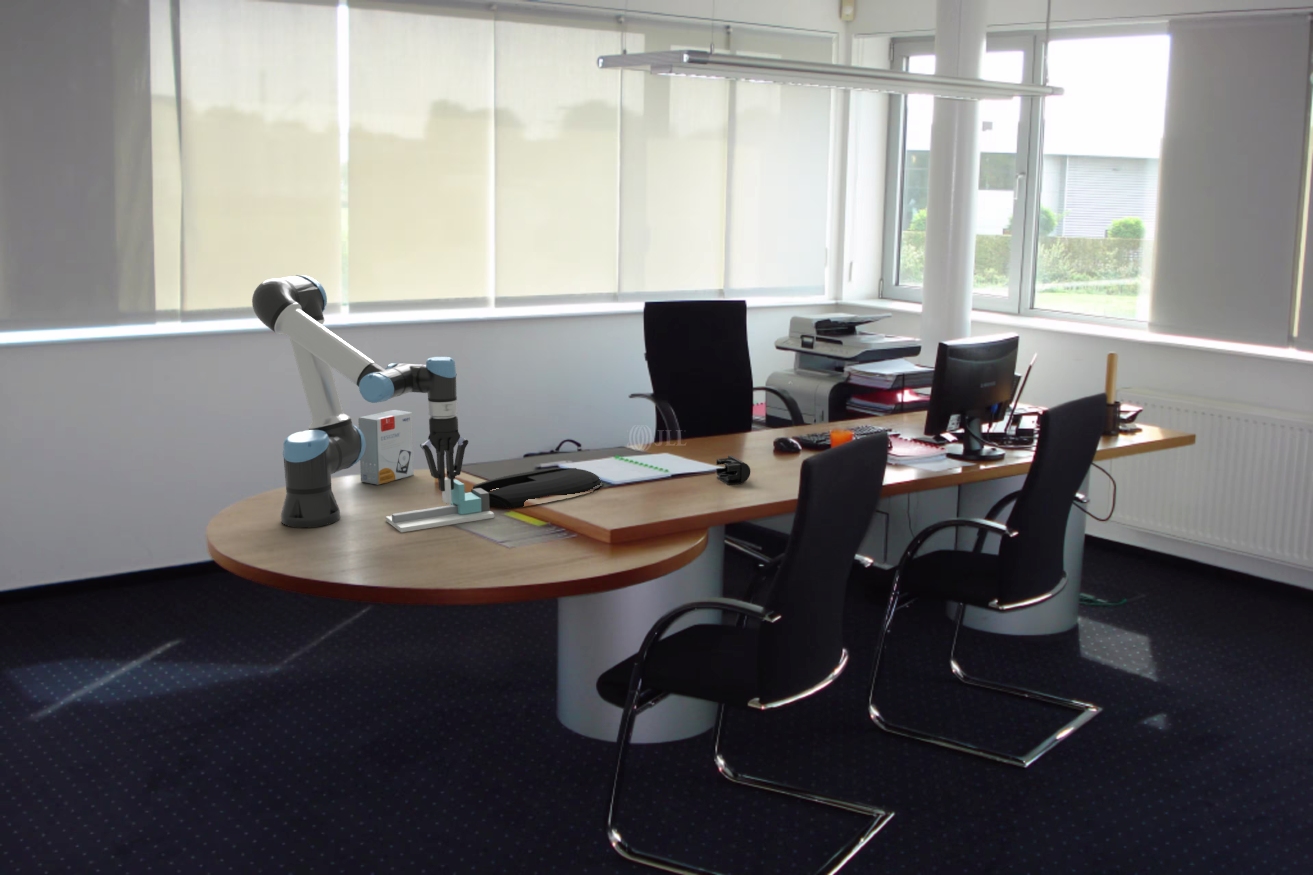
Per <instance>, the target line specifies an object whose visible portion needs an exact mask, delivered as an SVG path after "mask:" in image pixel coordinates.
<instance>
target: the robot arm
mask: <svg viewBox="0 0 1313 875" xmlns="http://www.w3.org/2000/svg"><path fill="white" fill-rule="evenodd" d="M327 296H328V295H327V293H326V290H325V288H324V287H323V285H322V284H321V283H320V282H319V281H318V280H317V279H315V278H314V277H312V276H309V275H305V274H303V275H298V274H296V275H291V276H284V277H283V276H282V277H277V278H269V279H265V280H264V281H262V282H261V283H260V284H258V285H257V287H256V288H255V290H254V291H253V295H252V299H251V305H252V308H253V312H254V313H255V315H256V317H257V318H258V320H259V321H261V323H263V325H265V327H267V328H268V329H269V330H271V331H272V332H274V333H275V334H276V335H278V336H279V335H286V337H287V338H289V340H290V345H291V347H292V352H293V355H294V360H295V362H296V365H297V370H298V373H299V377H300V380H301V385H302V388H303V391H304V395H305V399H306V403H307V406H308V410H309V414H310V417H311V423H310V424H309V426H308V427H307V428H308V430H307V429H306V430H303V431H297V432H293V433H292V434H290V435H288V436H287V437H286V438H285V439H284V440H283V449H282V457H283V466H284V467H283V468H284V478H285V492H286V494H285V498H284V501H283V505H282V510H281V512H280V520H281V524H282V523H283V524H282V525H284V524H285V525H284V526H286V525H289V526H288V527H290V526H294V527H293V528H298V527H308V528H317V527H322V526H328V525H331V524H334V523H336V522H338V521H339V520H340V519H341V512H340V507H339V504H338V502H337V500H336V497H335V495H334V493H333V489H332V477H331V476H332V475H333V474H336V473H338V472H340V471H342V470H347V469H349V468H352V467H353V466H354V465H357V463H359V462H360V459H361V458H362V456H363V455H364V452H365V446H366V444H365V438H364V435H363V433H362V432H361V430H360V429H359V427H357V426H356V425H355V424H353V421H352V417H351V416H350V415H348V414H346V413H345V412H344V408H343V406H342V403H341V399H340V395H339V391H338V388H337V383H336V380H335V376H334V373H333V370H334V371H335V372H338V373H339V374H340V375H342V376H343V377H345V378H346V379H347V380H349V381H351V383H353V384H355V385H356V386H357V387H358V390H359V393H360V395H361V396H362V398H363V399H364V400H365V401H366V402H369V403H370V404H371V403H372V404H375V403H376V404H377V403H382V402H386V401H389V400H391V399H393V398H396V397H399V396H403V395H406V394H409V393H419V394H420V393H421V394H427V402H428V403H427V404H428V415H429V416H430V417H428V426H429V434H428V437H427V440H426V441H425V442H421V443H420V444H419V447H420V448H421V449H422V451H423V452H424V455H425V459H426V462H427V465H428V470H429V473H430V476H431V477H433V478H435V479H437V480H438V490H439V491H440V492H441V494H442V495H441V496H442V502H443V503H444V504H445V505H446V504H451V490H453V489H454V480H455V479H456V477H457V476H460V475H461V474H462V473H461V472H462V467H463V462H464V456H465V452H466V448H467V446H468V444H469V440H468V439H466V438H464V437H462V436H461V434H460V432H459V418H458V396H457V371H456V370H457V368H456V362H455V359H454V358H453V357H449V356H432V357H428V358H427V359H426V360H425V361H426V363H425V364H420V363H419V364H417V363H405V362H395V363H394V362H393V363H389V364H388V365H387V366H386V367H385V368H384V367H383V366H381V365H379V364H378V363H376V362H375V361H373V360H372V358H369V357H368V356H366V354H364V353H362V351H360V350H358V349H356V348H355V347H354V346H352V345H351V344H350V343H348V342H346V341H345V340H343V338H341V337H339V336H338V335H337V334H335V332H332V331H331V330H330V329H328V328H327V327H326V326H324V322H325V317H324V313H323V312H325V310H326V306H327V304H328V298H327ZM457 444H458V445H457ZM431 445H432V446H433V448H434V449H435V453H436V461H435V459H434V456H433V452H432V450H431V449H432V446H431ZM456 445H457V449H456V454H455V447H456ZM454 454H455V458H454ZM445 465H446V466H445ZM445 468H446V469H445Z"/></svg>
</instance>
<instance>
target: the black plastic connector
mask: <svg viewBox="0 0 1313 875" xmlns="http://www.w3.org/2000/svg"><path fill="white" fill-rule="evenodd" d="M716 465H717V466H719V465H720V466H721V465H724V467H721V468H720V467H719V468H716V472H715V473H716V475H717V476H716V479H717V480H719V481H720V482H722V483H724V484H726V485H727V486H735V485H742V484H743V483H745V482H746V481H747V480H748V479H749V478H750V476H751V468H750V466H749V464H747V463H746V462H744V461H743V460H740V459H738V458H736V457H735V456H732V455H728V456H727V457H726V458H717V459H716Z"/></svg>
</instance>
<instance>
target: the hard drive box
mask: <svg viewBox="0 0 1313 875" xmlns="http://www.w3.org/2000/svg"><path fill="white" fill-rule="evenodd" d="M357 422H358V429H360V430H361V432H362V433H363V435H364V438H365V444H366V446H365V452H364V455H363V456H362V458H361V459H360V460H359V463H360V464H359V466H360V467H359V470H360V471H359V472H360V482H363V483H367V484H372V485H377V486H378V485H382V484H387V483H390V482H393V481H398V480H400V479H405V478H408V477H411V476H414V474H415V473H414V446H413V445H414V442H413V441H414V440H413V439H414V438H413V412H412V411H404V410H399V409H392V410H387V411H381V412H378V413H374V414H373V413H372V414H368V415H364V416H359V417H358V421H357Z"/></svg>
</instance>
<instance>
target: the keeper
mask: <svg viewBox="0 0 1313 875" xmlns="http://www.w3.org/2000/svg"><path fill="white" fill-rule="evenodd" d="M465 487H466V486H465V483H463V482H461V481H460V480H458V479H456V478H455V479H454V489H453V490H451V503H450V505H455V504H456V505H458V513H459V514H460V515H462V514H468V513H475V512H481V498H480V497H478V496H476V495H475V494H473V493H471V491H470V492H466V491H465Z"/></svg>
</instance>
